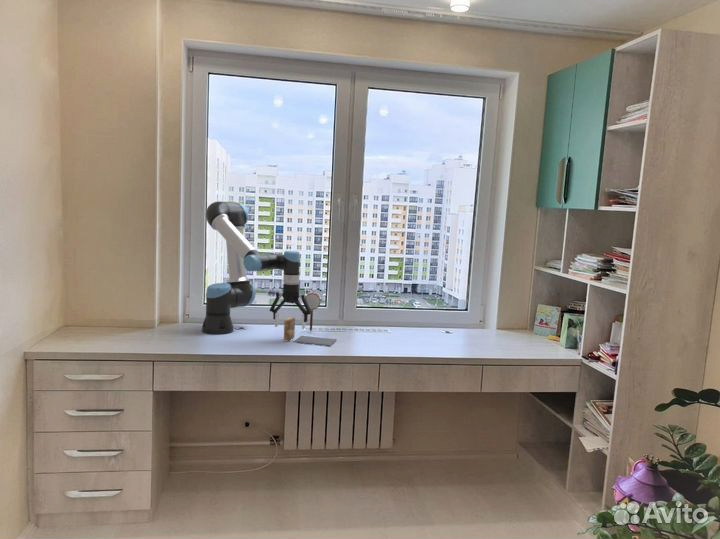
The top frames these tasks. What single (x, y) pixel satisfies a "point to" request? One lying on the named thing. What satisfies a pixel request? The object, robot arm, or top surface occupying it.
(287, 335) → the wooden block
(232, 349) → the top surface
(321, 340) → the mat
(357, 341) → the top surface
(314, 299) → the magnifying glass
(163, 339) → the top surface
